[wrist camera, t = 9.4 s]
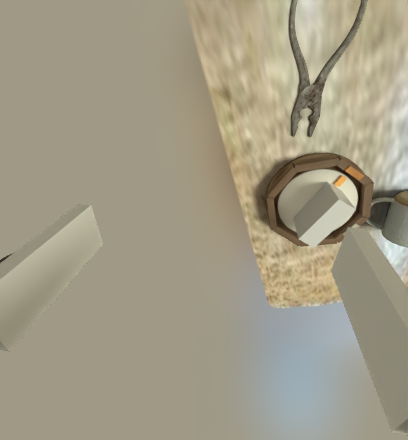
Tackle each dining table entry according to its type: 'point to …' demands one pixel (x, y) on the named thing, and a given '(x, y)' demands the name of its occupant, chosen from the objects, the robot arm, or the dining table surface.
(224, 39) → the dining table surface
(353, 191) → the dial
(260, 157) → the dining table surface
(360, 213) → the dial housing
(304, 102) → the pliers
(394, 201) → the ceramic mug
